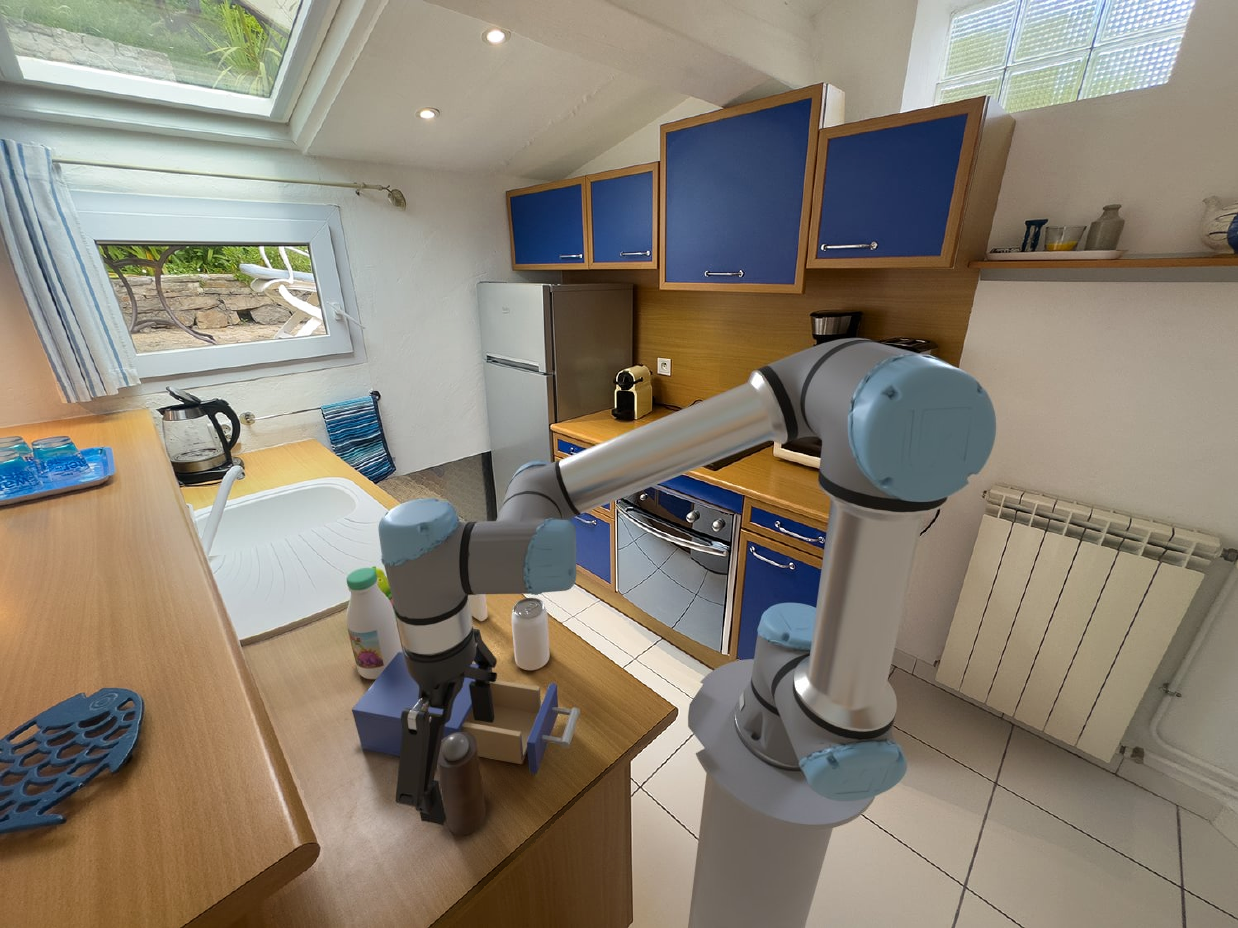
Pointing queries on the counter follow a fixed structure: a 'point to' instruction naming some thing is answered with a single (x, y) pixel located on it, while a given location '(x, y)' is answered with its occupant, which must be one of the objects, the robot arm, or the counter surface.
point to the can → (530, 634)
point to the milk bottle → (371, 624)
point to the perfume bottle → (478, 606)
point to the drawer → (520, 724)
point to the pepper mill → (461, 783)
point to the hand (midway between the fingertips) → (461, 764)
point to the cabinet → (399, 708)
